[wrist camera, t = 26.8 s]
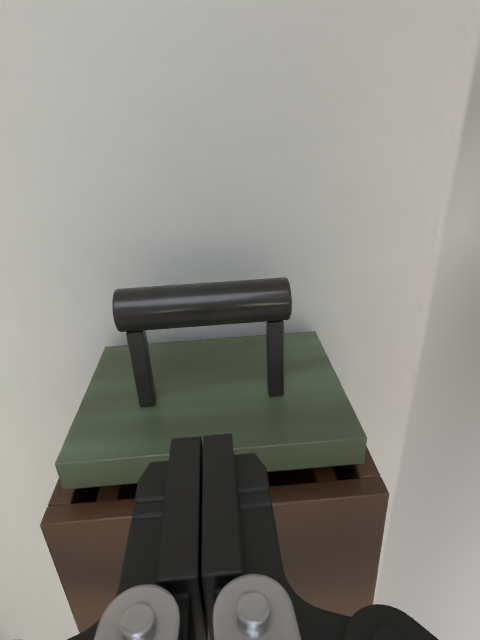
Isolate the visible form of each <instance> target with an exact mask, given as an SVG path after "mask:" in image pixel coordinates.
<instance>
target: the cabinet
mask: <svg viewBox="0 0 480 640" xmlns="http://www.w3.org/2000/svg"><path fill="white" fill-rule="evenodd" d="M333 469H334V472H335V474H336V477H337V480H338V481H326V482H315V483H304V484H292V485H281V486H270V487H269V488H270V493H271V499H272V507H273V511H274V517H275V523H276V529H277V535H278V541H279V547H280V552H281V558H282V564H283V569H284V573H285V576H286V579H287V581H288V583H289V584H290V586H291V588H292V589H293V590H294V591H295V593H296V594H297V595H298V596H300V597H301V598H302V599H303V600H304V601H306V602H307V603H309V604H311V605H313V606H315V607H317V608H320V609H323V610H327V611H331V612H334V613H338V614H342V615H346V616H350V617H352V615H353V614H354V613H355V612H356V611H358V610H360V609H361V608H363V607H366V606H368V605H373V600H374V593H375V586H376V579H377V572H378V566H379V559H380V552H381V545H382V539H383V532H384V525H385V518H386V512H387V505H388V498H389V493H388V490H387V488H386V486H385V484H384V482H383V480H382V478H381V477H380V474H379V472H378V470H377V468H376V465H375V463H374V461H373V459H372V457H371V455H370V453H369V451H368V449H367V446H366V451H365V461H364V463H363V464H353V465H342V466H333ZM99 488H100V487H89V488H78V489H66V490H64V489H63V488H62V485H61V482H60V478H59V479H58V482H57V484H56V487H55V489H54V492H53V494H52V497H51V499H50V501H49V504H48V507H47V509H46V512H45V514H44V517H43V519H42V522H41V524H40V527H41V529H42V532H43V535H44V537H45V540H46V543H47V546H48V548H49V551H50V554H51V556H52V559H53V562H54V565H55V567H56V570H57V573H58V575H59V578H60V581H61V583H62V586H63V589H64V592H65V594H66V597H67V600H68V602H69V605H70V608H71V611H72V613H73V616H74V619H75V621H76V624H77V627H78V630H79V632H80V633H82V632H84V631H85V630H87V629H88V628H90V627H91V626H92V625H94V624H95V623H96V622H97V621H98V620H99V619H100V618H101V617H102V615H103V613H104V611H105V610H106V608H107V607H108V605H109V604H110V603H111V602H112V601H113V600H114V598H115V596H116V593H117V591H118V587H119V583H120V577H121V572H122V566H123V561H124V556H125V550H126V545H127V539H128V534H129V529H130V523H131V520H132V512H133V507H134V503H135V498H134V499H123V500H112V501H101V502H96V499H97V495H98V492H99ZM208 640H210V635H209V628H208Z"/></svg>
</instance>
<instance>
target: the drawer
mask: <svg viewBox="0 0 480 640" xmlns="http://www.w3.org/2000/svg"><path fill="white" fill-rule="evenodd" d="M291 311H292V300H291V290H290V284H289V281H288V279H287V278H270V279H256V280H241V281H227V282H212V283H198V284H183V285H169V286H155V287H140V288H126V289H117V290H115V292H114V295H113V317H114V322H115V325H116V328H117V330H118V331H120V332H127V333H126V336H127V341H128V345H125V346H111V347H105V349H104V352H103V354H102V356H101V359H100V361H99V363H98V366H97V368H96V370H95V373H94V375H93V377H92V379H91V382H90V384H89V386H88V389H87V391H86V393H85V396H84V398H83V400H82V403H81V405H80V407H79V410H78V412H77V414H76V417H75V419H74V421H73V424H72V426H71V428H70V430H69V433H68V435H67V437H66V440H65V442H64V444H63V447H62V449H61V451H60V454H59V456H58V458H57V461H56V463H55V466H56V469H57V472H58V475H59V478H60V482H61V485H62V488H63V489H64V490H66V489H78V488H89V487H100V488H99V492H98V495H97V499H96V502H101V501H112V500H123V499H134V498H135V496H136V491H137V485H138V480H139V478H140V477H141V475H142V474H143V472H144V471H145V469H146V468H147V467H148V465H149V464H150V462H160V461H169V452H170V443H171V439H172V438H183V437H195V436H201V438H202V446H203V436H205V435H217V434H229V433H232V439H233V451H234V455H239V454H250V453H255V454H256V455H257V456H258V458H259V459H260V460H261V462H262V463H263V465H264V466H265V467H266V469H267V475H268V481H269V487H270V486H281V485H292V484H304V483H315V482H326V481H338V480H337V477H336V474H335V472H334V469H333V466H342V465H353V464H363V463H364V461H365V451H366V442H367V437H366V435H365V433H364V431H363V429H362V427H361V424H360V422H359V420H358V418H357V416H356V414H355V412H354V410H353V408H352V406H351V404H350V402H349V400H348V398H347V396H346V394H345V392H344V390H343V388H342V386H341V383H340V381H339V379H338V377H337V375H336V373H335V371H334V369H333V367H332V365H331V363H330V361H329V359H328V357H327V355H326V353H325V351H324V349H323V347H322V344H321V342H320V340H319V338H318V336H317V334H316V332H314V331H313V332H300V333H286V334H284V322H283V320H288V319H290V317H291ZM264 321H266V335H260V336H246V337H233V338H219V339H206V340H192V341H179V342H165V343H152V344H148V342H147V336H146V330H155V329H169V328H182V327H196V326H210V325H223V324H237V323H251V322H264Z"/></svg>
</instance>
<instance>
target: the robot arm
mask: <svg viewBox="0 0 480 640" xmlns="http://www.w3.org/2000/svg"><path fill="white" fill-rule="evenodd" d="M208 628H209V635H210V640H438V639H437V638H436V637H435V636H433V635H432V634H431V633H430V632H429V631H427V630H426V629H425V628H424V627H422V626H421V625H420V624H419V623H418V622H416V621H415V620H414V619H413V618H411V617H410V616H408V615H407V614H406V613H404V612H402V611H401V610H399V609H397V608H394V607H391V606H386V605H379V604H375V605H368V606H366V607H363V608H361V609H360V610H358V611H356V612H355V613H354V614H353V615H352V617H350V616H346V615H342V614H338V613H334V612H331V611H327V610H323V609H320V608H317V607H315V606H313V605H311V604H309V603H307V602H306V601H304V600H303V599H302V598H301V597H300V596H298V595H297V594H296V593H295V591H294V590H293V589H292V588H291V586H290V584H289V583H288V581H287V579H286V576H285V573H284V569H283V564H282V558H281V552H280V547H279V541H278V535H277V529H276V523H275V517H274V511H273V507H272V499H271V493H270V488H269V481H268V475H267V469H266V467H265V466H264V465H263V463H262V462H261V460H260V459H259V458H258V456H257V455H256V454H255V453H250V454H239V455H234V451H233V439H232V433H229V434H217V435H205V436H203V446H202V438H201V436H195V437H183V438H172V439H171V443H170V452H169V461H160V462H150V464H149V465H148V467H147V468H146V469H145V471H144V472H143V474H142V475H141V477H140V478H139V480H138V485H137V491H136V496H135V503H134V507H133V512H132V520H131V523H130V529H129V534H128V539H127V545H126V550H125V556H124V561H123V566H122V572H121V577H120V583H119V587H118V591H117V593H116V596H115V598H114V600H113V601H112V602H111V603H110V604H109V605H108V607H107V608H106V610H105V611H104V613H103V615H102V617H101V618H100V619H99V620H98V621H97V622H96V623H95V624H94V625H92V626H91V627H90V628H88V629H87V630H85V631H84V632H82V633H80V634H78V635H76V636H74V637H72V638H70V639H67V640H208Z"/></svg>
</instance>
